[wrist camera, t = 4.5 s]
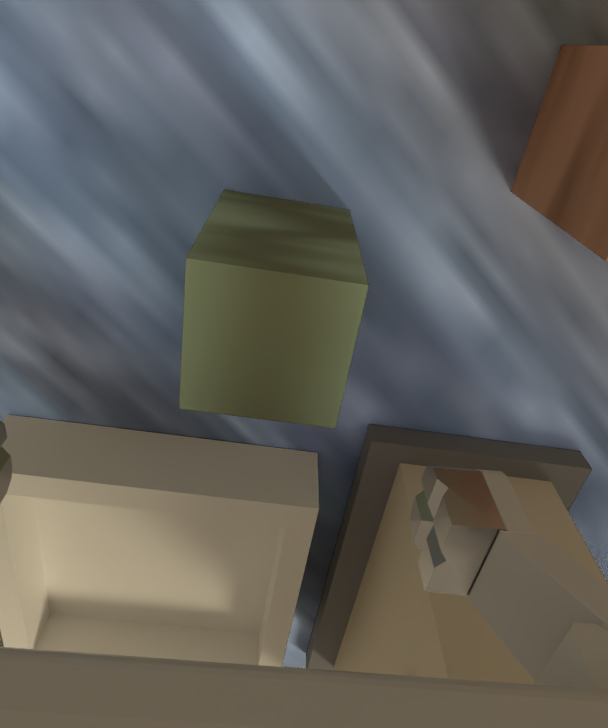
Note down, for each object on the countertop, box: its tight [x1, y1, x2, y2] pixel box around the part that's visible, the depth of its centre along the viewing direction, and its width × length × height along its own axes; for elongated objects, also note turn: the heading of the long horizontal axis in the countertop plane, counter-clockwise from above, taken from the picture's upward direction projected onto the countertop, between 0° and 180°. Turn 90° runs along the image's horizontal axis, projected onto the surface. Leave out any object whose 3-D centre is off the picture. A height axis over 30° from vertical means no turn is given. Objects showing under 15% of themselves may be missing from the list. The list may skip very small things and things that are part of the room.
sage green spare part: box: [179, 190, 369, 428], centre depth 17 cm, size 4×4×7 cm
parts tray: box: [0, 415, 319, 667], centre depth 27 cm, size 14×14×4 cm
